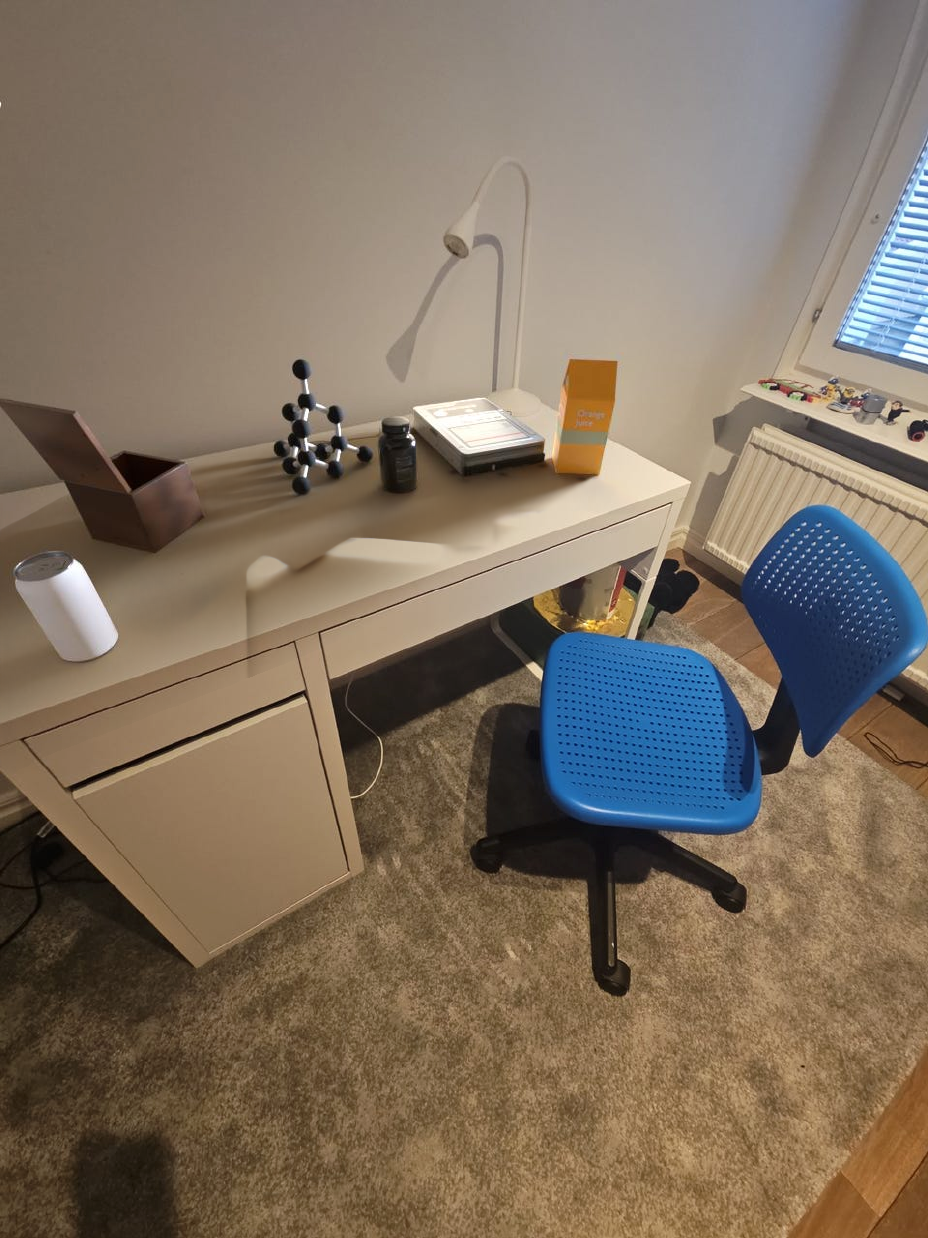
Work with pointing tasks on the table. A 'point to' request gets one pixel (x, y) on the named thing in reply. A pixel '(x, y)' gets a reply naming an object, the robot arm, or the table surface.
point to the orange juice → (584, 416)
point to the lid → (65, 444)
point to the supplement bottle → (397, 456)
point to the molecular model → (303, 430)
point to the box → (140, 503)
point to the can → (65, 605)
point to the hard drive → (478, 436)
